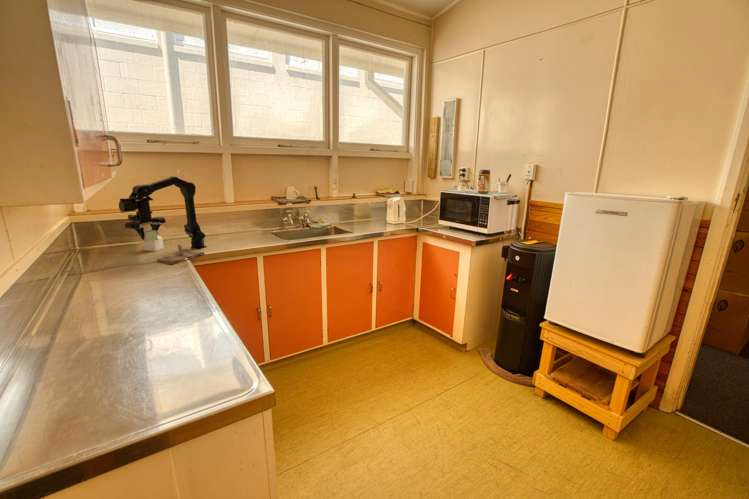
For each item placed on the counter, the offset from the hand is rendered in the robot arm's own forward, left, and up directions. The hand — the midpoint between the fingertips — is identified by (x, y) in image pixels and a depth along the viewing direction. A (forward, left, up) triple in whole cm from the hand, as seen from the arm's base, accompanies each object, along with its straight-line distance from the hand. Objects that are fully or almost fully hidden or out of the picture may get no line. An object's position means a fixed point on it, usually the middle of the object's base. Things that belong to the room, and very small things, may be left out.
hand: (148, 238), depth 187 cm
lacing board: (-8, +13, -11) cm, 19 cm away
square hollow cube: (0, 0, -1) cm, 1 cm away
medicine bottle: (-13, -16, -12) cm, 24 cm away
